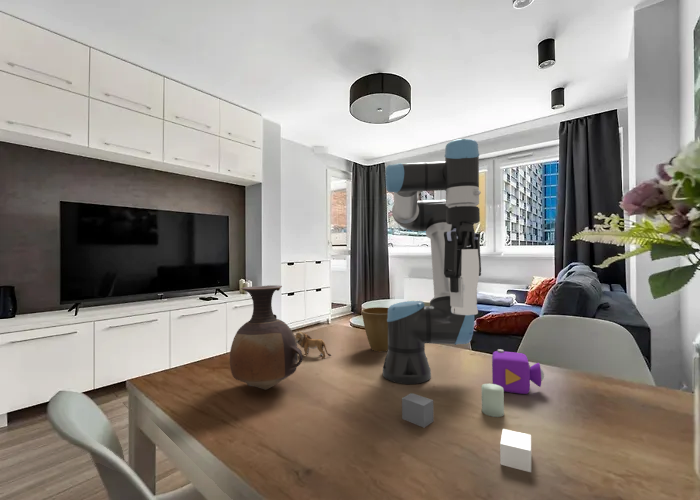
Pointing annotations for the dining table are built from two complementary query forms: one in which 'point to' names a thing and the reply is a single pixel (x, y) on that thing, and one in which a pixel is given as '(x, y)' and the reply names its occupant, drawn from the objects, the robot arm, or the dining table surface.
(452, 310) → the beer glass
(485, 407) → the sage cylinder
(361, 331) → the dining table surface
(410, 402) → the charcoal block
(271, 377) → the vase
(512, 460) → the off-white brick
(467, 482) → the dining table surface
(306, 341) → the lion figurine
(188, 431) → the dining table surface
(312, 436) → the dining table surface
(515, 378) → the toy camera
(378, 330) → the plant pot
